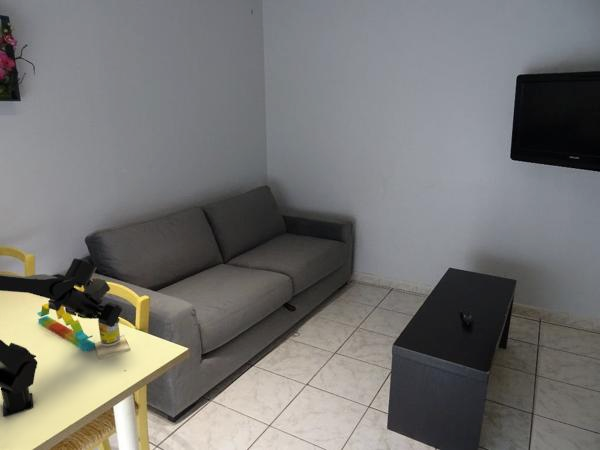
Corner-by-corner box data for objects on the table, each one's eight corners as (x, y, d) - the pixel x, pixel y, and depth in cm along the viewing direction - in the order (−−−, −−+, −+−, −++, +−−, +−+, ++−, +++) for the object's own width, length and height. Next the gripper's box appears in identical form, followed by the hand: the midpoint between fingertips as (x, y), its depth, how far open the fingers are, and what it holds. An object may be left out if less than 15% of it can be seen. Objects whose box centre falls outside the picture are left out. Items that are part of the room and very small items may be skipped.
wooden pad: (130, 350, 139) (130, 347, 138) (99, 359, 134) (99, 356, 134) (124, 337, 146) (124, 334, 146) (94, 345, 141) (94, 342, 141)
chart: (96, 348, 141) (89, 304, 136) (86, 352, 138) (79, 308, 134) (48, 320, 158) (41, 281, 153) (39, 324, 155) (31, 284, 151)
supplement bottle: (99, 340, 140) (95, 310, 137) (118, 335, 143) (114, 306, 140) (103, 348, 135) (99, 318, 133) (122, 343, 138) (118, 313, 136)
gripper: (113, 280, 125) (146, 301, 138) (68, 269, 133) (103, 289, 146) (92, 317, 121) (129, 335, 133) (47, 303, 129) (85, 321, 141)
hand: (111, 319), depth 138 cm, fingers closed on supplement bottle, 5 cm apart
